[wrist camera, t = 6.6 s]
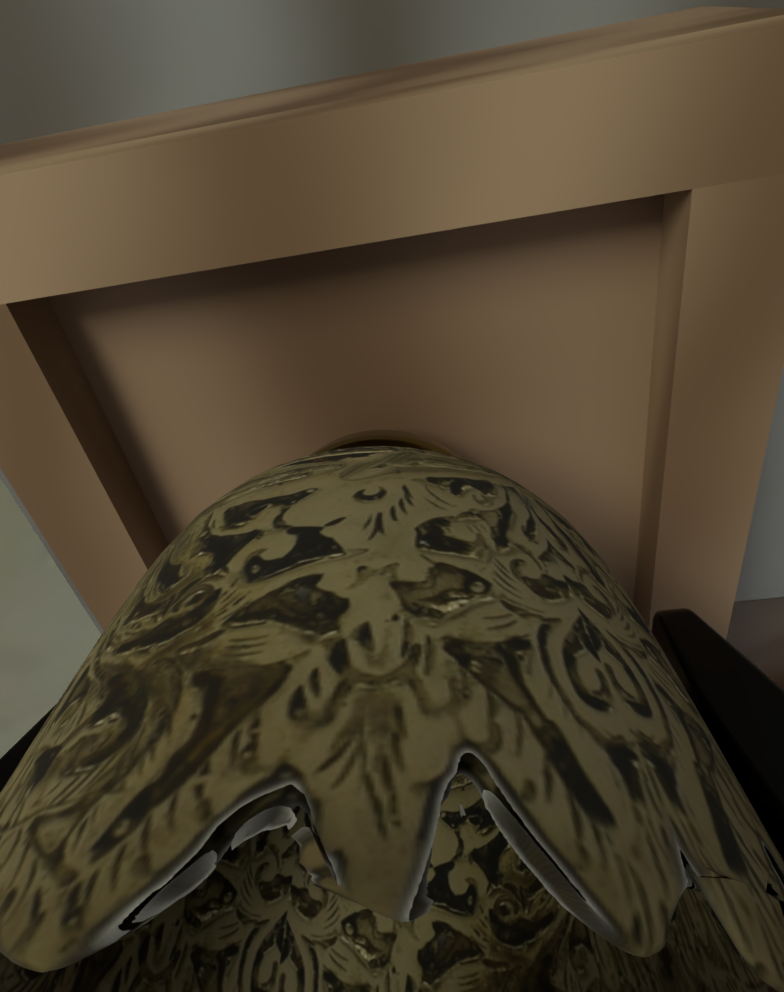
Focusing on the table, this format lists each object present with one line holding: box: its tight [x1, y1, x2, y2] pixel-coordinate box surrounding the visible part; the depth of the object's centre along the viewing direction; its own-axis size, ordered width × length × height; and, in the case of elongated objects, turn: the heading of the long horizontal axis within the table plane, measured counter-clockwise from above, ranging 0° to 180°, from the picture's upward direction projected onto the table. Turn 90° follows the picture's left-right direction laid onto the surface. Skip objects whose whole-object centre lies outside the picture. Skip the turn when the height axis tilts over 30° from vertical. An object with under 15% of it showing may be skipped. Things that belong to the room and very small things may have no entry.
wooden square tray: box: [0, 0, 784, 640], centre depth 14 cm, size 20×16×6 cm
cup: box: [0, 429, 784, 992], centre depth 8 cm, size 8×7×8 cm
